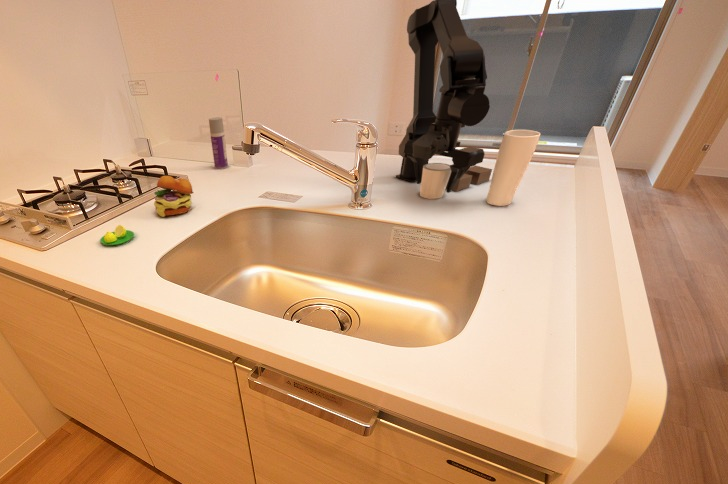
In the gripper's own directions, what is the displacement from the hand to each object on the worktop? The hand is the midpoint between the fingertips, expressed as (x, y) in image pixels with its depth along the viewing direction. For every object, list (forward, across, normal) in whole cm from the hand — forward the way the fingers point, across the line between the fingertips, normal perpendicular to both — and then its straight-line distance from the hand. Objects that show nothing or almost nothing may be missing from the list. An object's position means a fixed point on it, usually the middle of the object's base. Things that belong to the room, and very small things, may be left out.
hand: (433, 187), depth 94 cm
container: (+2, -65, -30) cm, 72 cm away
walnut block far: (+2, 0, +17) cm, 17 cm away
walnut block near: (+2, 0, +9) cm, 9 cm away
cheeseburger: (+2, -36, -58) cm, 68 cm away
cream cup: (+2, 0, 0) cm, 2 cm away
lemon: (+2, -27, -76) cm, 81 cm away
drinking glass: (+2, +14, +7) cm, 15 cm away
